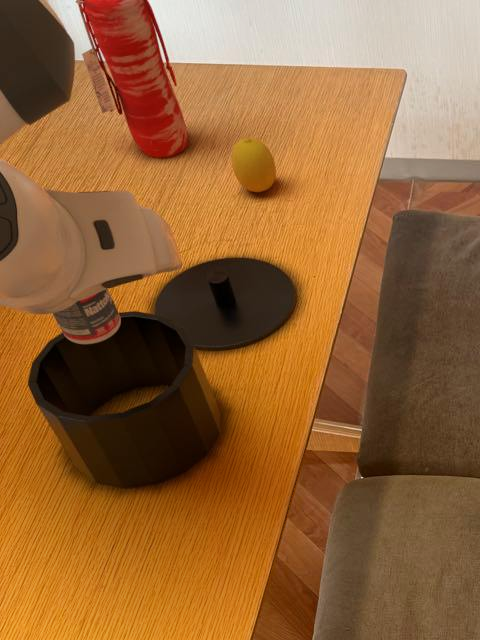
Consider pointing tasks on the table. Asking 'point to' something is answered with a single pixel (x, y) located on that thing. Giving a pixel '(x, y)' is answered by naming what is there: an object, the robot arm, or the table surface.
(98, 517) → the table surface
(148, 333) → the trash can
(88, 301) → the pill bottle
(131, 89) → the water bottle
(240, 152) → the lemon
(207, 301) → the bin lid
